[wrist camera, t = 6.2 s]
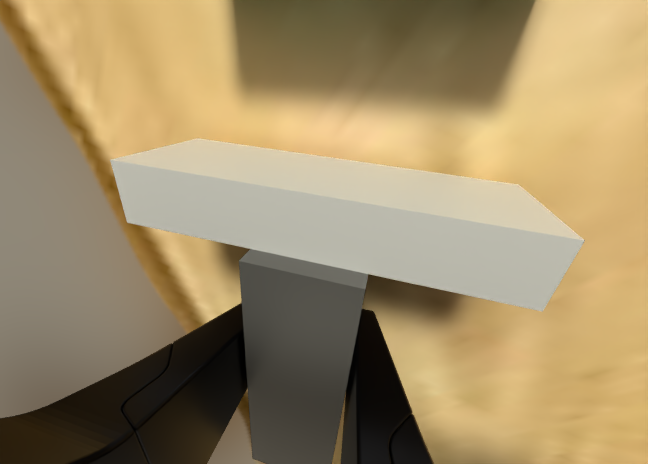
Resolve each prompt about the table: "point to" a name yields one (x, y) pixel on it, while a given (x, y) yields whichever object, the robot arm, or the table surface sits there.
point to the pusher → (336, 259)
